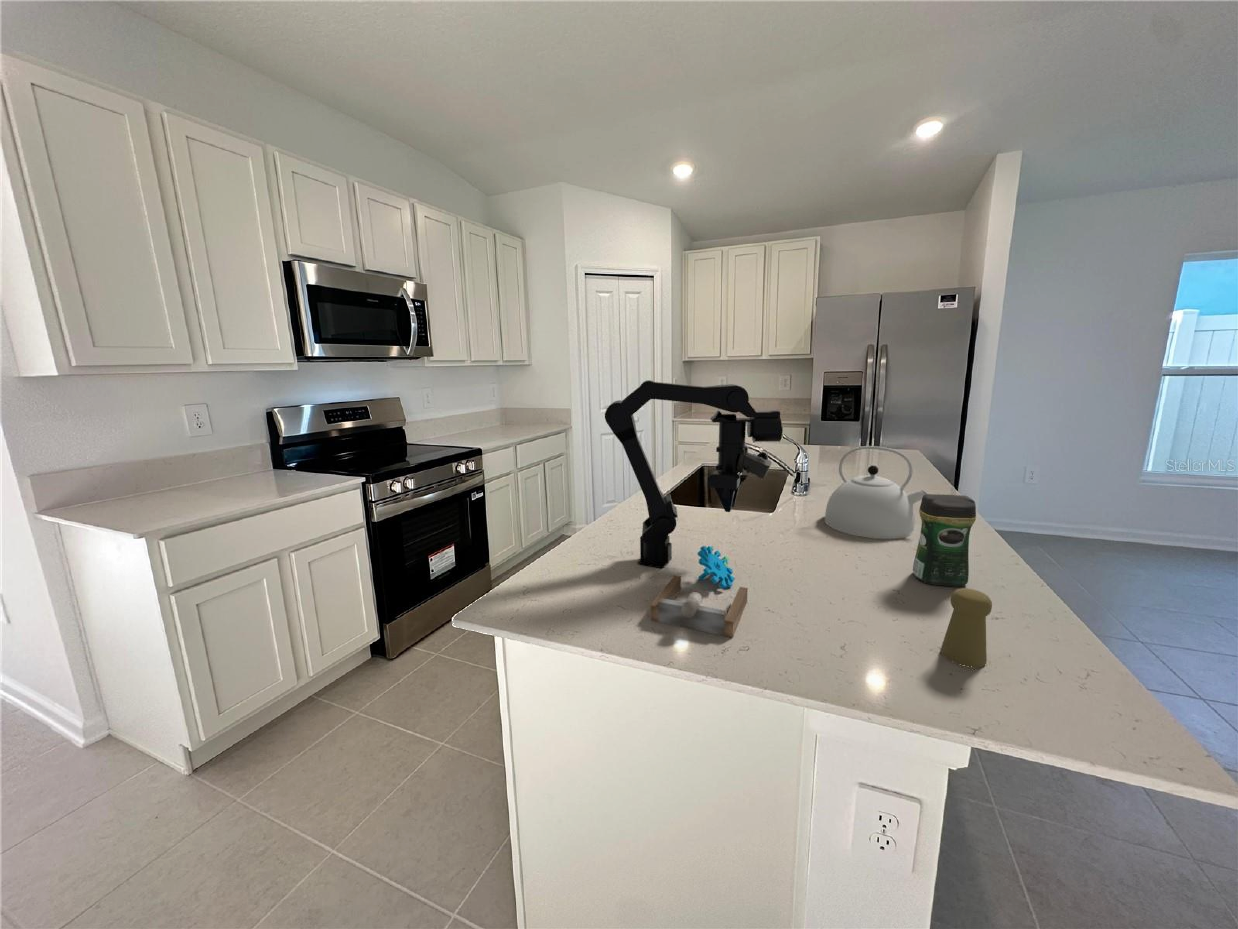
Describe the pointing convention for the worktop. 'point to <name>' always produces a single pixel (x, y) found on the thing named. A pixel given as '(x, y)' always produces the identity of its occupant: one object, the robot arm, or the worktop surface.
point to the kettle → (873, 504)
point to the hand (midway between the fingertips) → (729, 509)
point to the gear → (715, 567)
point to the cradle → (697, 611)
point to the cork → (967, 628)
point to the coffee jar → (944, 539)
